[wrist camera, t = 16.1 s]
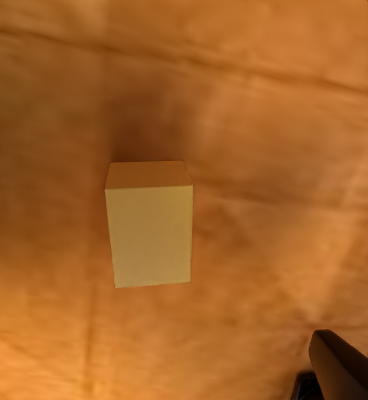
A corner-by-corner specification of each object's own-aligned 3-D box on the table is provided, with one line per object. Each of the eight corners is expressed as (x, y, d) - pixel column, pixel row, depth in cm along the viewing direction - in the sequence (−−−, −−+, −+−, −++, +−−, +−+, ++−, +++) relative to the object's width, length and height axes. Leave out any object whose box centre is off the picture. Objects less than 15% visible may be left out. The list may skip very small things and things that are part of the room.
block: (182, 245, 18) (190, 282, 15) (118, 249, 17) (114, 288, 14) (184, 159, 15) (194, 185, 13) (109, 162, 15) (104, 189, 12)
